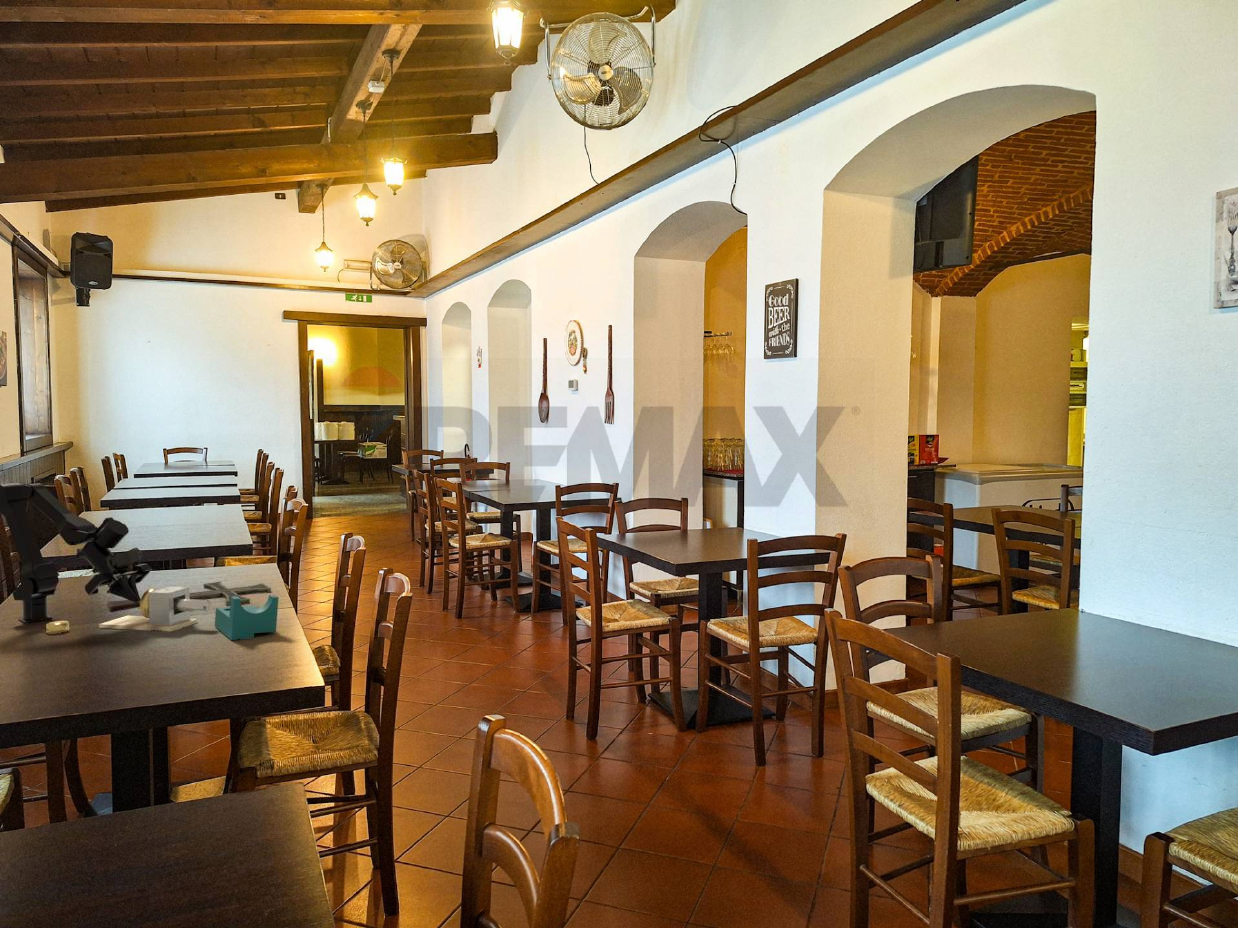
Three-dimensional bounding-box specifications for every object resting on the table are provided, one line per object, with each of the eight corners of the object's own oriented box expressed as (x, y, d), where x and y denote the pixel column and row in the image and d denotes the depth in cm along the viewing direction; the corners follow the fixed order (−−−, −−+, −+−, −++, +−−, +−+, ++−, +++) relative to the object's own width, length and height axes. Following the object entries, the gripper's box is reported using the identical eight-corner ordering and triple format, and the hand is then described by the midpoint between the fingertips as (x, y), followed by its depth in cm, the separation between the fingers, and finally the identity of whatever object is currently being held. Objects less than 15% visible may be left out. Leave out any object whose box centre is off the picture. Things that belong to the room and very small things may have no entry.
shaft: (140, 621, 224) (139, 591, 224) (161, 614, 232) (160, 585, 232) (197, 624, 221) (196, 594, 221) (216, 617, 229) (215, 588, 229)
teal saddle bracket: (275, 637, 219) (278, 597, 219) (231, 639, 212) (234, 598, 212) (256, 623, 233) (259, 586, 233) (214, 626, 226) (217, 587, 226)
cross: (101, 594, 262) (253, 577, 290) (101, 600, 262) (253, 582, 290) (116, 615, 234) (282, 594, 262) (116, 621, 235) (283, 600, 262)
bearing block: (149, 625, 224) (148, 592, 223) (170, 618, 232) (169, 586, 231) (169, 626, 223) (168, 593, 222) (190, 619, 231) (189, 587, 230)
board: (99, 627, 226) (99, 624, 226) (127, 618, 235) (127, 615, 235) (172, 631, 222) (171, 627, 222) (197, 622, 231) (197, 618, 231)
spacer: (43, 632, 221) (43, 623, 221) (65, 628, 225) (64, 619, 225) (50, 635, 218) (50, 626, 218) (72, 631, 222) (71, 622, 222)
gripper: (93, 544, 220) (131, 588, 218) (145, 535, 238) (180, 575, 237) (67, 573, 221) (105, 616, 220) (121, 561, 240) (156, 601, 238)
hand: (138, 601), depth 229 cm, fingers closed
